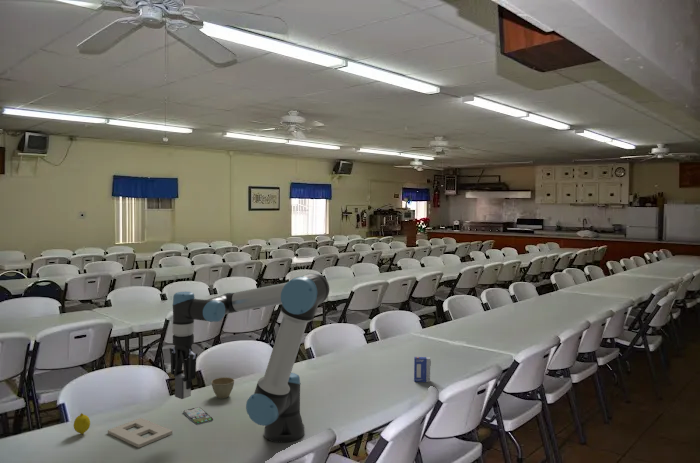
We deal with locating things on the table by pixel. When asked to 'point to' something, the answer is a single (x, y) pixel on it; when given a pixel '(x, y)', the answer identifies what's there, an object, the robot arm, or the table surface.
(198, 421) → the smartphone
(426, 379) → the walkman
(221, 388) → the flower pot
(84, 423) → the fruit
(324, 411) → the table surface
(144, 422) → the outlet plate
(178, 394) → the dark grey rectangular block
